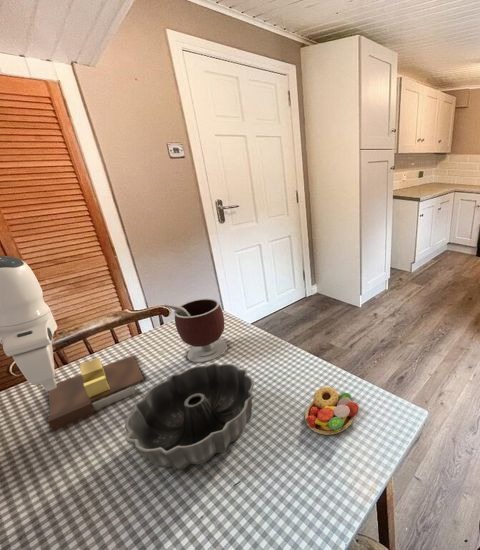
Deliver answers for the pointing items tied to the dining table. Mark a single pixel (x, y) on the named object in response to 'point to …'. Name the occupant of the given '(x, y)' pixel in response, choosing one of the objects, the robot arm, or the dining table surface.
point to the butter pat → (96, 386)
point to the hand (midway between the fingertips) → (50, 378)
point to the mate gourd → (201, 328)
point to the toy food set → (330, 411)
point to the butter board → (79, 393)
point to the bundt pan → (191, 415)
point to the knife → (85, 409)
